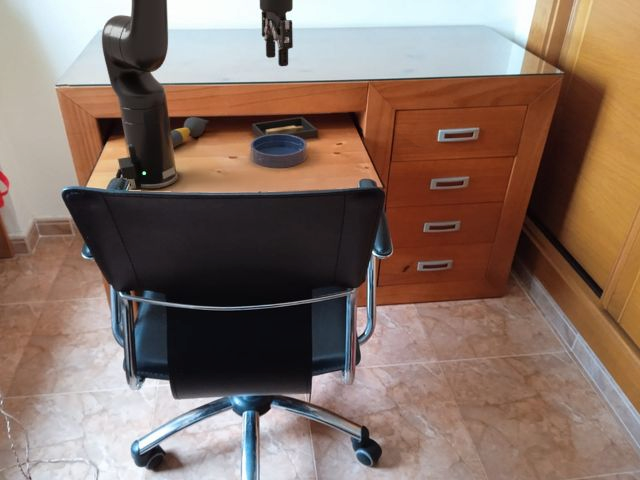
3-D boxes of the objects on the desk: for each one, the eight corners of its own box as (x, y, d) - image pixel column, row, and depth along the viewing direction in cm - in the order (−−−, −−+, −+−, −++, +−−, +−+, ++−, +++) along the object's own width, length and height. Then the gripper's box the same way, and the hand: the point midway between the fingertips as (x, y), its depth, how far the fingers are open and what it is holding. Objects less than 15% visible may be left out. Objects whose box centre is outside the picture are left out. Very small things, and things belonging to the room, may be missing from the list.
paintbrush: (164, 159, 126) (161, 139, 123) (148, 155, 128) (144, 135, 125) (213, 132, 141) (211, 113, 139) (197, 128, 143) (195, 110, 140)
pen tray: (265, 147, 134) (265, 137, 132) (252, 132, 141) (251, 123, 140) (317, 138, 139) (317, 129, 137) (302, 125, 147) (302, 116, 145)
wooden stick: (267, 137, 137) (267, 131, 137) (265, 135, 139) (265, 129, 138) (303, 132, 141) (303, 126, 140) (301, 130, 142) (301, 124, 141)
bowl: (262, 173, 121) (261, 159, 119) (243, 152, 131) (242, 138, 129) (315, 164, 126) (315, 150, 124) (293, 144, 136) (293, 130, 134)
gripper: (250, -16, 125) (252, 55, 134) (271, -8, 114) (272, 70, 123) (280, -17, 128) (280, 53, 136) (303, -9, 117) (302, 67, 125)
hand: (276, 61), depth 129 cm, fingers open, 8 cm apart
